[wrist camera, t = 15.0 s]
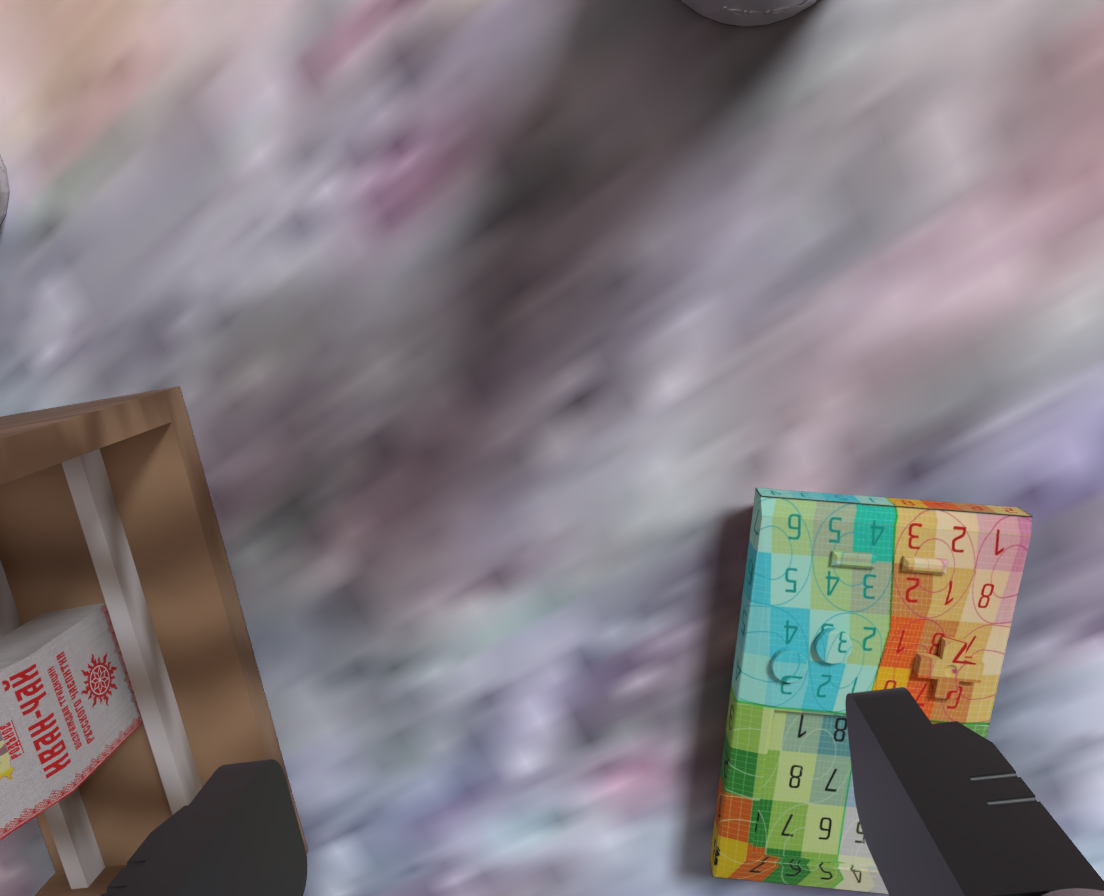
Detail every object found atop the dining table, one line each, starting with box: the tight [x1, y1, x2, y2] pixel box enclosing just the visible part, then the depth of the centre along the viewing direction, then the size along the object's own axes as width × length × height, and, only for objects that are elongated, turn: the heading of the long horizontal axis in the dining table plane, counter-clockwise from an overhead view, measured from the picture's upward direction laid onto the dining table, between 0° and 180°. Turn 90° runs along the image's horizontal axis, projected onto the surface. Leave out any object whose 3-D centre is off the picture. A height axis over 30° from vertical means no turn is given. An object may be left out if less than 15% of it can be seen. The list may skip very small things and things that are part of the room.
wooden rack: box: [0, 387, 308, 896], centre depth 36 cm, size 27×14×16 cm, turn 10°
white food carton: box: [0, 603, 143, 840], centre depth 37 cm, size 4×7×10 cm, turn 11°
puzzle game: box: [710, 488, 1032, 894], centre depth 39 cm, size 12×5×20 cm
